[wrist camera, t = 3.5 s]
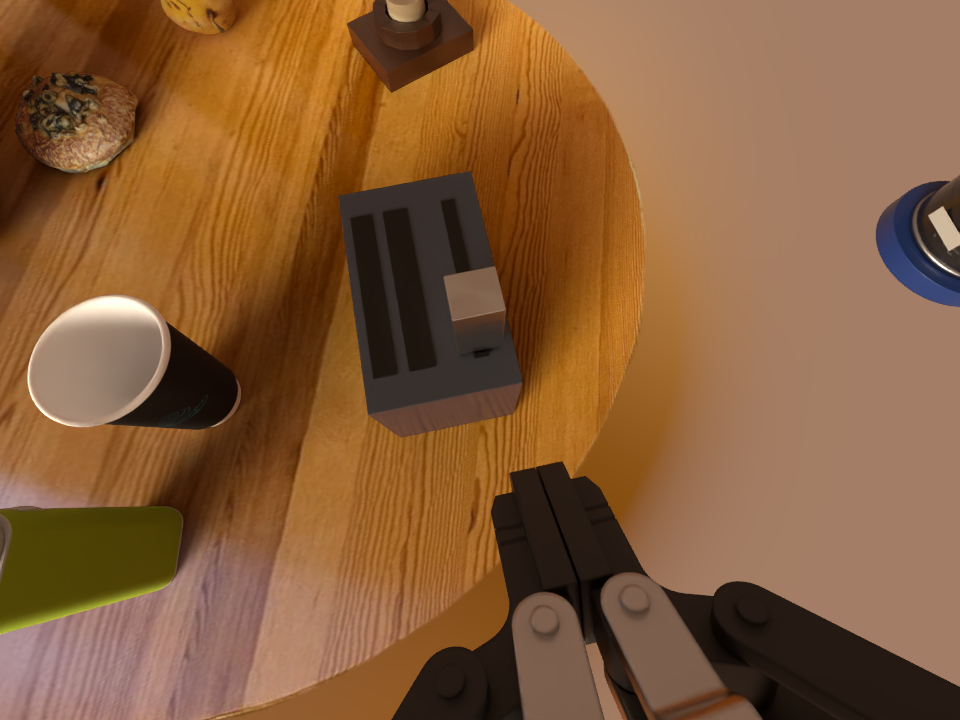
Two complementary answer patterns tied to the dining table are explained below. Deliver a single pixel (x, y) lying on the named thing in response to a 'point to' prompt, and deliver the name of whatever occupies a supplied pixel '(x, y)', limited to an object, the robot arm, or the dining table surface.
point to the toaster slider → (476, 309)
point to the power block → (410, 41)
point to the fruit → (201, 14)
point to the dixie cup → (127, 370)
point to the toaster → (422, 306)
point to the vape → (82, 559)
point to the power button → (406, 10)
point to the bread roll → (75, 120)
